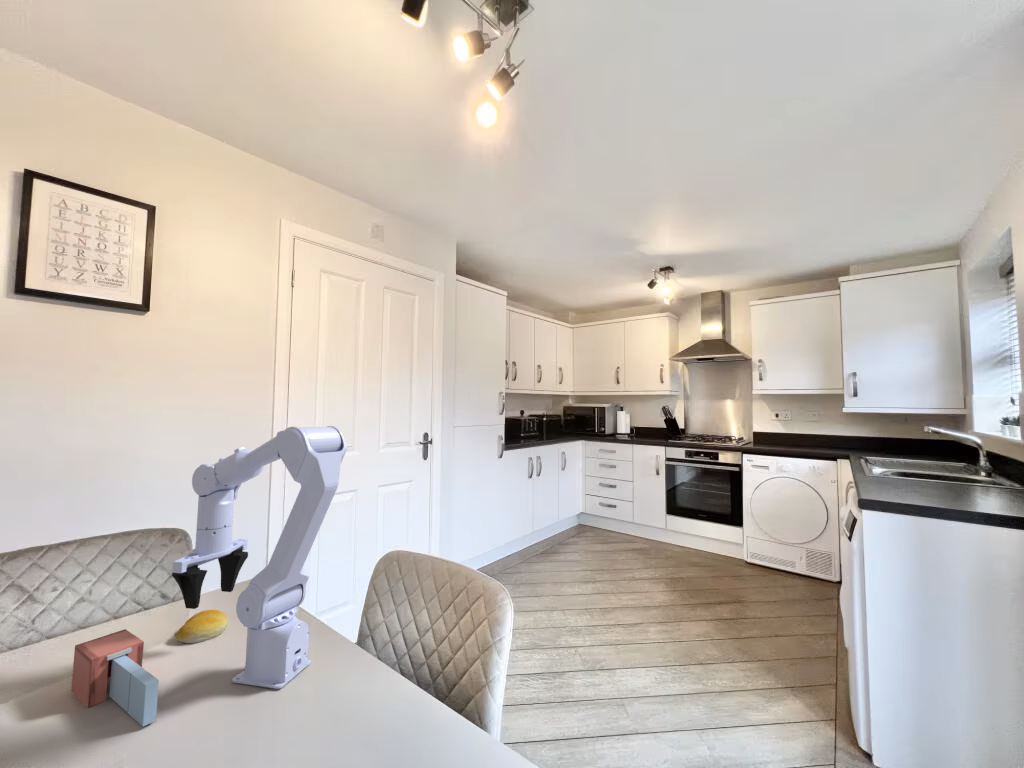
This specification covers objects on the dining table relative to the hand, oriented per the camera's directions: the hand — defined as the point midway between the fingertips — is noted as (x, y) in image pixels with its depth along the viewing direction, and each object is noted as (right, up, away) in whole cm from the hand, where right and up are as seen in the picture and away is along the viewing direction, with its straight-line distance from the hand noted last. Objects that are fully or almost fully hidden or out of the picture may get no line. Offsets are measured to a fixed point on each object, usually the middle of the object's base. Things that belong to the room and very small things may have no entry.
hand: (210, 599), depth 81 cm
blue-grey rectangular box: (0, -8, -17) cm, 18 cm away
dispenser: (-9, -9, -11) cm, 17 cm away
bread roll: (-6, -11, +7) cm, 14 cm away
